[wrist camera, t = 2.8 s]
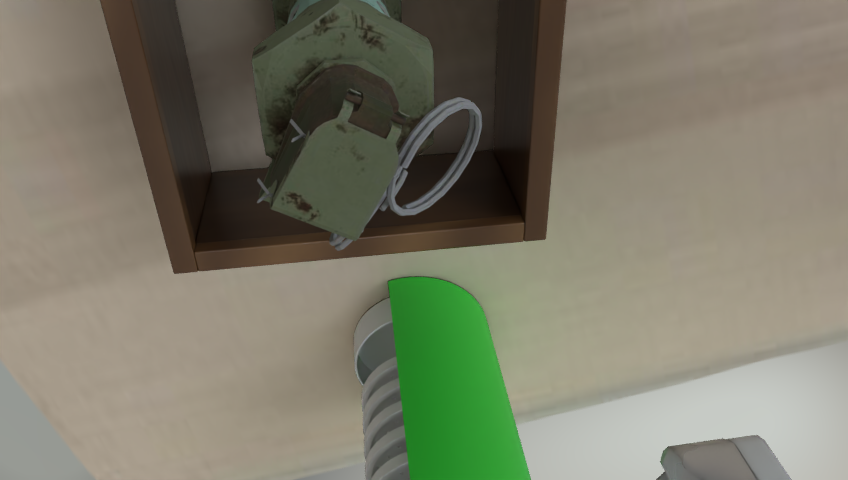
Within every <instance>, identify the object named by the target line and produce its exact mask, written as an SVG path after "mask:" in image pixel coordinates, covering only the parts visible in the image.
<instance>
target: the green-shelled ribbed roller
mask: <svg viewBox="0 0 848 480" xmlns="http://www.w3.org/2000/svg"><path fill="white" fill-rule="evenodd" d="M388 286H389V295H390V298H387V299H385V300H383V301H381V302H379V303H378V304H376V305H374V306H373V307H372V308H371V309H369V310H368V311H367V312H366V313H365V314H364V315H363V317H362V318H361V319H360V321H359V323H358V325H357V327H356V329H355V333H354V362H355V372H356V375H357V378H358V380H359V382H360V383H361V385H362V386H363V389H362V410H363V432H364V454H365V460H366V463H365V474H366V475H365V476H366V480H531V478H530V474H529V471H528V467H527V463H526V460H525V456H524V453H523V449H522V445H521V442H520V438H519V435H518V431H517V427H516V424H515V420H514V417H513V413H512V409H511V406H510V402H509V399H508V395H507V391H506V388H505V384H504V381H503V377H502V373H501V370H500V366H499V363H498V359H497V356H496V352H495V348H494V345H493V341H492V338H491V334H490V330H489V327H488V323H487V320H486V316H485V314H484V311H483V309H482V308H481V306H480V304H479V303H478V302H477V301H476V299H475V298H474V297H473V296H471V295H470V294H469V293H468V292H467V291H465V290H464V289H462V288H460V287H459V286H457V285H454V284H452V283H450V282H447V281H444V280H440V279H435V278H428V277H407V278H400V279H395V280H391V281H388Z"/></svg>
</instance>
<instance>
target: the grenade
mask: <svg viewBox="0 0 848 480" xmlns="http://www.w3.org/2000/svg"><path fill="white" fill-rule="evenodd" d="M272 3H273V11H274V19H275V27H276V32H275V33H273V34H272V35H271V36H269V37H268V38H267V39H265V40H264V41H263V42H261V43H260V44H259V45H258V46H256V47H255V48H254V52H253V57H252V67H253V75H254V83H255V90H256V97H257V104H258V110H259V117H260V123H261V130H262V136H263V142H264V147H265V152H266V155H267V156H269V157H271V158H273V159H272V162H271V164H270V167H269V169H268V172H267V175H266V177H265V180H264V182H263V183H262V181H261V180H260V179H259V178H258V180H257V181H258V183H259V184H260V185H261V187H262V188H261V190H260V193H259V199H258V201H257V203H259V202H261V201H262V200H264V201H267V202H269V203H270V209H272V210H274V211H277V212H280V213H282V214H285V215H288V216H290V217H293V218H295V219H298V220H301V221H303V222H306V223H309V224H311V225H314V226H316V227H319V228H322V229H324V230H327V231H329V232H332V233H331V235H330V238H329V241H330V245H332V246H335V249H336V250H337V251H339V250H342V249H344V248H345V247H346V246H348V245H349V244H350V243H351V242H352V241H356V240H357V239H358V238H359V237H360V235H361V233H362V232H363V231H364V228H365V226H366V224H367V223H368V222H369V220H370V219H371V218H372V216H373V215H374V214H375V212H376V211H377V209H378V208H379V207H380V205H381V204H382V202H383V201H384V199H385V198H386V196H387V198H386V200H385V201H384V203H383V204H382V205H381V207H380V208H379V209H380V210H381V211H385V209H386V208H387V207H388V205H390V209H391V210H392V211H394V212H395V213H397V214H398V215H400V216H405V215H415V214H417V213H419V212H421V211H423V210H425V209H427V208H429V207H430V206H431V205H433V204H434V203H435V202H436V201H437V200H439V199H440V198H441V197H442V196H444V194H445V193H446V192H447V191H448V190H449V189H450V188H451V186H452V185H453V184H454V183H455V182H456V181H457V180H458V178H459V177H460V175H461V174H462V172H463V171H464V169H465V167H466V166H467V164H468V163H469V161H470V159H471V157H472V155H473V153H474V151H475V148H476V146H477V144H478V141H479V137H480V133H481V129H482V117H481V112H480V110H479V108H478V107H477V106H476V105H475V104H474V102H471V101H470V100H468V99H464V98H461V97H456V98H453V99H450V100H448V101H445V102H442V103H441V104H439V105H438V106H437V107H436V108H434V67H433V49H432V47H431V44H430V42H429V40H428V38H426V37H425V36H423V35H421V34H419V33H418V32H416V31H414V30H413V29H411V28H409V27H408V26H406V25H404V24H402V23H401V0H272ZM461 109H467V110H468V112H469V127H468V130H467V134H466V137H465V141H464V143H463V145H462V147H461V149H460V151H459V153H458V155H457V157H456V159H455V161H454V162H453V163H452V165H451V166H450V168H449V169H448V170H447V172H446V173H445V175H444V176H443V177H442V178H441V179H440V180H439V181H438V182H437V183H436V184H435V185H434V186H433V188H432V189H431V190H429V191H428V192H427V193H425V194H424V195H423V196H421V197H420V198H418V199H417V200H415V201H413V202H410V203H408V204H405V205H403V206H402V208H401V207H399V206H398V205H397V204H396V202H395V198H394V197H395V196H396V194H397V193H398V191H399V189H400V188H401V186H402V185H403V183H404V181H405V178H406V176H407V174H408V172H407V171H406V170H404V169H402V167H403V168H408V166H409V164H410V162H411V161H412V159H413V158H415V157H416V156H417V155H419V154H420V153H421V152H423V151H424V150H425V149H427V148H428V147H429V146H431V145H432V144H433V140H434V128H435V127H436V126H437V125H439V124H440V123H441V122H442V121H443V120H444V119H445V118H446V117H448V116H449V115H451V114H453V113H455V112H457V111H459V110H461ZM399 176H400V178H399V180H398V182H397V184H396V181H397V179H398V177H399ZM395 184H396V185H395ZM345 238H347V239H346V240H345V241H343V242H342V240H344V239H345Z"/></svg>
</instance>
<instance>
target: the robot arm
mask: <svg viewBox="0 0 848 480" xmlns="http://www.w3.org/2000/svg"><path fill="white" fill-rule="evenodd" d="M660 462H661V464H662V466H663V468H664V470H665V472H664V473H663V474H662V475H661V476H660V477H658V478H657V479H656V480H791V478H790V477H789V475H788V474H787V472H786V471H785V470H784V468H783V467H782V465H781V464H780V462H779V461H778V459H777V458H776V456H775V455H774V453H773V452H772V450H771V449H770V447H769V446H768V445H767V443H766V442H765V440H764V439H762V438H760V437H759V436H758V435H752V436H745V437H738V438H732V439H717V440H710V441H703V442H697V443H689V444H682V445H676V446H669V447H667V448H666V449H665V450H664V451H663V454H662V457H661V461H660Z"/></svg>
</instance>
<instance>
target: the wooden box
mask: <svg viewBox="0 0 848 480" xmlns="http://www.w3.org/2000/svg"><path fill="white" fill-rule="evenodd" d="M566 1H567V0H499V3H498V32H497V61H496V90H495V118H494V147H493V151H492V150H489V151H477V152H474V153H473V155H472V157H471V159H470V161H469V163H468V164H467V166H466V167H465V169H464V171H463V172H462V174H461V175H460V177H459V178H458V180H457V181H456V182H455V183H454V184H453V185H452V186H451V188H450V189H449V190H448V191H447V192H446V193H445V194H444V196H442V197H441V198H440V199H439V200H437V201H436V202H435V203H434V204H433V205H431V206H430V207H429V208H427V209H425V210H423V211H421V212H419V213H417V214H415V215H405V216H400V215H398V214H397V213H395V212H394V211H392V210H391V209H390V205H388V207H387V208H386V209H385V211H381V210H380V209H379V208H380V207H381V205H382V204H383V203H384V201H385V200H386V198H387V196H386V198H385V199H384V201H383V202H382V204H381V205H380V207H379V208H378V209H377V211H376V212H375V214H374V215H373V216H372V218H371V219H370V220H369V222H368V223H367V224H366V226H365V228H364V231H363V232H362V233H361V235H360V237H359V238H358V239H357V240H356V241H352V242H351V243H350V244H349V245H348V246H346V247H345V248H344V249H342V250H339V251H337V250H336V249H335V246H332V245H330V241H329V238H330V235H331V233H332V232H329V231H327V230H324V229H322V228H319V227H316V226H314V225H311V224H309V223H306V222H303V221H301V220H298V219H295V218H293V217H290V216H288V215H285V214H282V213H280V212H277V211H274V210H272V209H270V203H269V202H267V201H264V200H262V201H261V202H259V203H257V201H258V199H259V193H260V190H261V188H262V187H261V185H260V184H259V183H258V181H257V180H258V178H259V179H260V180H261V181H262V183H263V182H264V180H265V177H266V175H267V172H268V169H269V168H263V169H250V170H237V171H225V172H213V173H211V168H210V163H209V159H208V154H207V149H206V145H205V140H204V135H203V131H202V126H201V121H200V117H199V112H198V107H197V102H196V98H195V93H194V88H193V84H192V79H191V74H190V70H189V65H188V60H187V56H186V51H185V46H184V41H183V37H182V32H181V27H180V23H179V18H178V13H177V9H176V4H175V0H100V2H101V5H102V9H103V13H104V17H105V20H106V24H107V28H108V31H109V35H110V39H111V42H112V46H113V50H114V54H115V57H116V61H117V65H118V68H119V72H120V76H121V79H122V83H123V87H124V91H125V94H126V98H127V102H128V105H129V109H130V113H131V116H132V120H133V124H134V128H135V131H136V135H137V139H138V142H139V146H140V150H141V153H142V157H143V161H144V165H145V168H146V172H147V176H148V179H149V183H150V187H151V190H152V194H153V198H154V202H155V205H156V209H157V213H158V216H159V220H160V224H161V227H162V231H163V235H164V239H165V242H166V246H167V250H168V253H169V257H170V261H171V264H172V268H173V272H174V274H177V273H188V272H197V271H198V270H199V271H208V270H219V269H230V268H241V267H252V266H263V265H274V264H284V263H295V262H306V261H317V260H328V259H339V258H350V257H361V256H372V255H383V254H394V253H404V252H415V251H426V250H437V249H448V248H459V247H470V246H481V245H492V244H503V243H514V242H523V240H524V241H535V240H545V239H546V231H547V220H548V208H549V197H550V185H551V174H552V162H553V151H554V139H555V128H556V116H557V105H558V93H559V81H560V70H561V58H562V47H563V35H564V24H565V12H566ZM457 155H458V153H451V154H439V155H426V156H416V157H415V158H413V159H412V161H411V162H410V164H409V166H408V168H403V167H402V169H404V170H406V171H407V172H408V174H407V176H406V178H405V181H404V183H403V185H402V186H401V188H400V189H399V191H398V193H397V194H396V196H395V197H394V198H395V202H396V204H397V205H398V206H399V207H401V208H402V206H403V205H405V204H408V203H410V202H413V201H415V200H417V199H418V198H420V197H421V196H423V195H424V194H425V193H427V192H428V191H429V190H431V189H432V188H433V186H434V185H435V184H436V183H437V182H438V181H439V180H440V179H441V178H442V177H443V176H444V175H445V173H446V172H447V170H448V169H449V168H450V166H451V165H452V163H453V162H454V161H455V159H456V157H457ZM399 178H400V176H399V177H398V179H397V181H396V184H397V182H398V180H399ZM396 184H395V185H396ZM346 239H347V238H345V239H344V240H342V242H343V241H345V240H346Z"/></svg>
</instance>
